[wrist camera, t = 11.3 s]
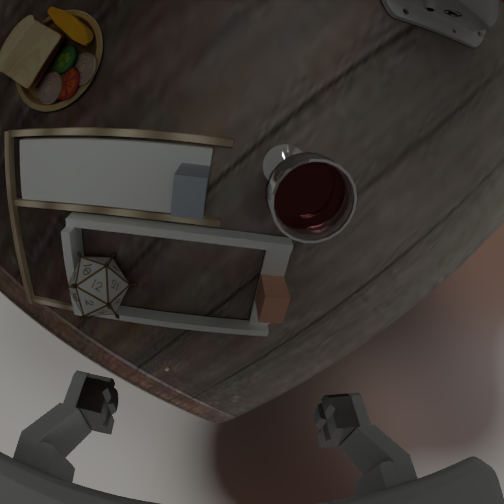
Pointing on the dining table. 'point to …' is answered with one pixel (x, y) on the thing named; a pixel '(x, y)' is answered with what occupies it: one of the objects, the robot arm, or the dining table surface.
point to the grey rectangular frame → (275, 259)
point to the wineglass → (308, 194)
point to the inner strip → (117, 174)
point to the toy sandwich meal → (52, 57)
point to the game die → (98, 286)
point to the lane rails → (16, 202)
